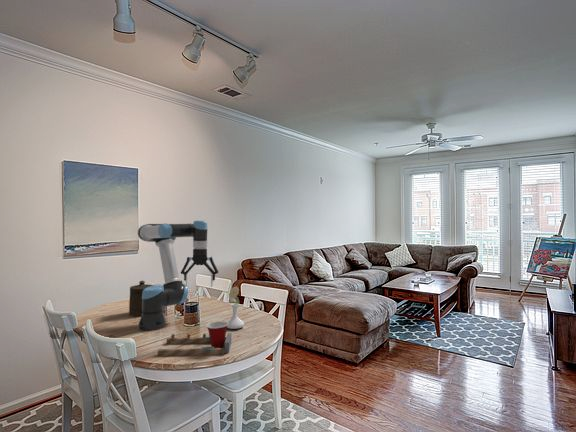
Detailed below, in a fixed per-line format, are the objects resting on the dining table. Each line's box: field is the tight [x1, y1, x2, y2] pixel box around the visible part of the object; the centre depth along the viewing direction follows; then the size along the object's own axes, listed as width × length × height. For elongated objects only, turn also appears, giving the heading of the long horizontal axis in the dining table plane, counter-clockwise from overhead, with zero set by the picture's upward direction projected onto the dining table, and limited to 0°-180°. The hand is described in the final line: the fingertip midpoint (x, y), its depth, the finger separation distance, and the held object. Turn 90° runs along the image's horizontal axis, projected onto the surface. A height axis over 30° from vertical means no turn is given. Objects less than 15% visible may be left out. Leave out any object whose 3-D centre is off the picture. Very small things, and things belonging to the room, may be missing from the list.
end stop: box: [224, 332, 232, 354], centre depth 164 cm, size 2×13×5 cm, turn 5°
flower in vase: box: [226, 285, 245, 330], centre depth 194 cm, size 13×11×25 cm
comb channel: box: [157, 333, 227, 357], centre depth 163 cm, size 31×16×4 cm, turn 95°
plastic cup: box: [206, 320, 228, 348], centre depth 164 cm, size 11×11×12 cm
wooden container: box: [128, 280, 154, 318], centre depth 220 cm, size 15×15×22 cm
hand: (199, 286), depth 182 cm, fingers open, 13 cm apart
